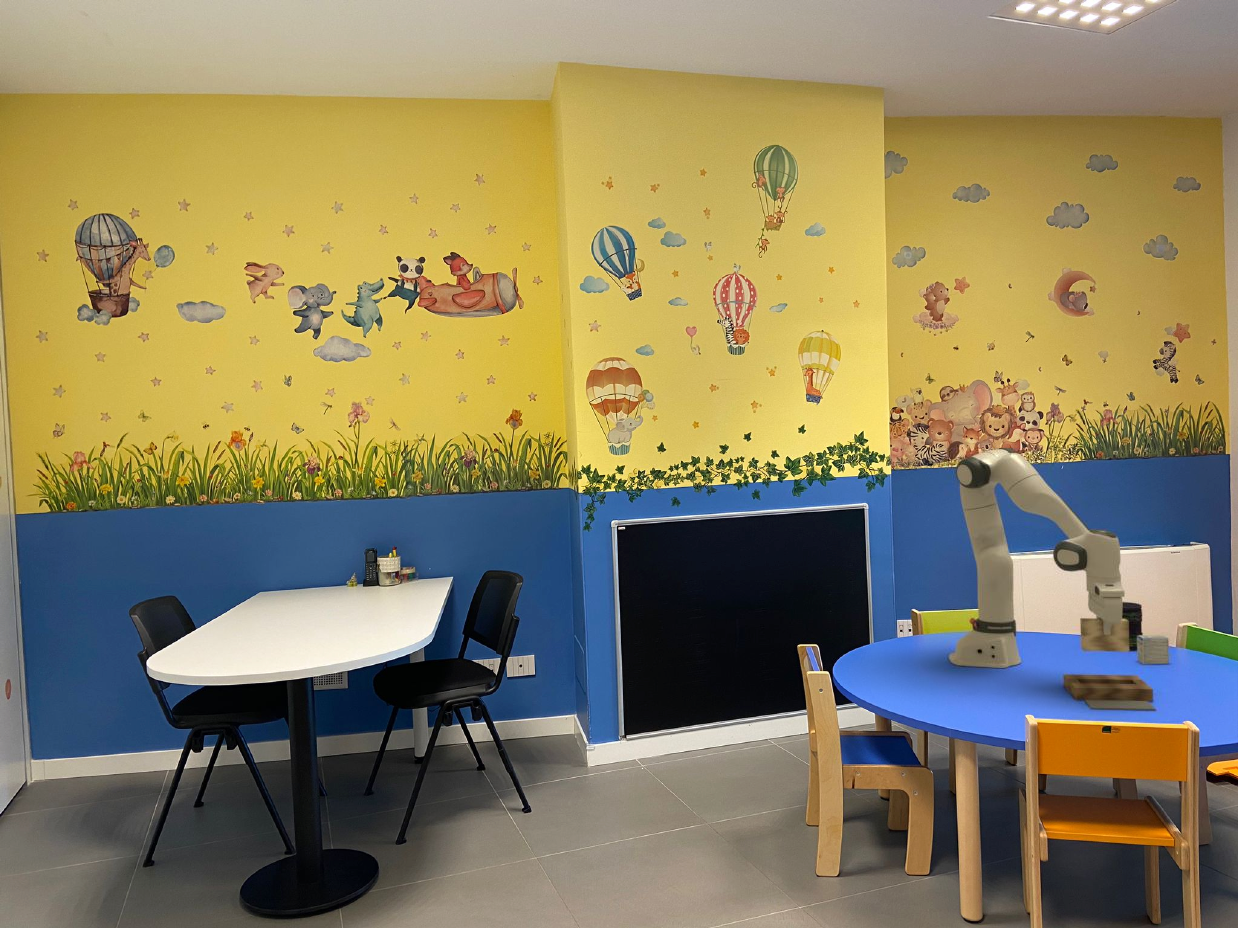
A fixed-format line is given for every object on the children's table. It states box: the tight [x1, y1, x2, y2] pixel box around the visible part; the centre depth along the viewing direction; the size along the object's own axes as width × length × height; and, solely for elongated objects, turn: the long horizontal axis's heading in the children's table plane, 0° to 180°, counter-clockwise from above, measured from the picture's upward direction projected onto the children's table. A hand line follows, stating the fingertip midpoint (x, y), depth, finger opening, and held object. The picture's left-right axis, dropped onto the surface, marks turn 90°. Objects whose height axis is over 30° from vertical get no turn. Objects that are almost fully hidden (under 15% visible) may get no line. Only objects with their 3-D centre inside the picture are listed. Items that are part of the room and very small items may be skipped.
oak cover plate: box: [1080, 617, 1130, 653], centre depth 258 cm, size 12×3×9 cm, turn 76°
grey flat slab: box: [1084, 700, 1157, 712], centre depth 247 cm, size 16×7×1 cm, turn 76°
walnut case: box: [1062, 673, 1154, 702], centre depth 258 cm, size 20×14×4 cm
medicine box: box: [1136, 634, 1170, 665], centre depth 287 cm, size 8×4×9 cm, turn 84°
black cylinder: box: [1122, 601, 1144, 652], centre depth 306 cm, size 10×10×15 cm
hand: (1104, 632), depth 258 cm, fingers closed on oak cover plate, 3 cm apart
